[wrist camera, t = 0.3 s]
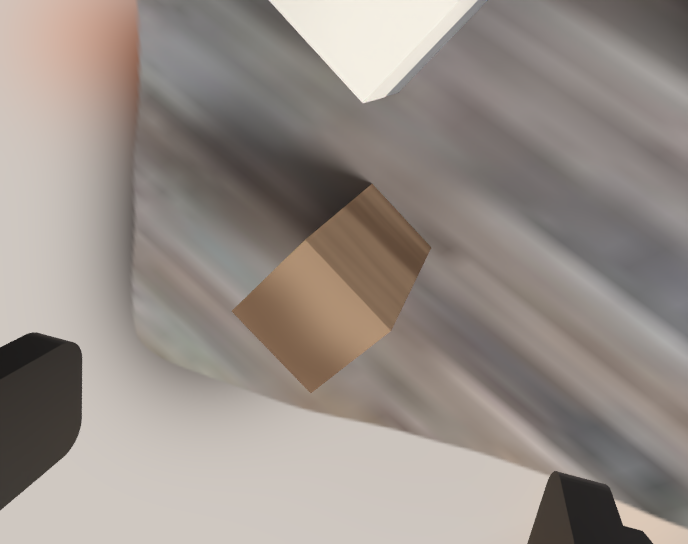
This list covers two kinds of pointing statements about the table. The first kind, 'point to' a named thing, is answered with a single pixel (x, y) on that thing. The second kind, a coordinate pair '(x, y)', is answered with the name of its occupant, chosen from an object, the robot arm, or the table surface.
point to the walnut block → (337, 289)
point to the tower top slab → (372, 36)
